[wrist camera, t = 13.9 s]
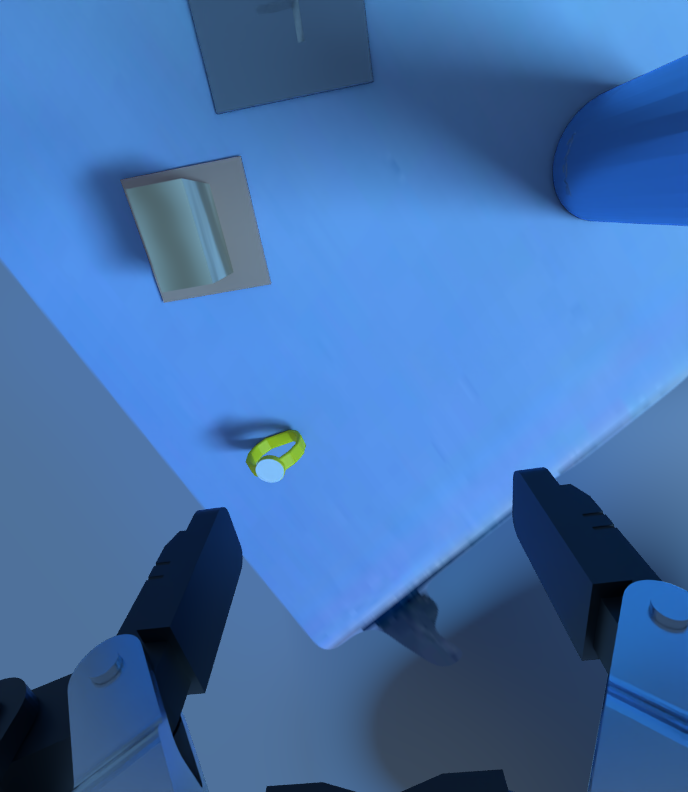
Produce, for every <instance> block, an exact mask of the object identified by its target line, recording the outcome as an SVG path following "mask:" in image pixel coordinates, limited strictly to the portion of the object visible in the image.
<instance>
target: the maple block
mask: <svg viewBox="0 0 688 792" xmlns="http://www.w3.org/2000/svg"><path fill="white" fill-rule="evenodd" d="M126 192H127V195H128V198H129V201H130V204H131V206H132V209H133V212H134V215H135V218H136V220H137V223H138V226H139V229H140V232H141V235H142V237H143V240H144V243H145V246H146V249H147V251H148V254H149V257H150V260H151V263H152V266H153V268H154V271H155V274H156V277H157V280H158V282H159V285H160V288H161V291H162V293H163V292H168V291H174V290H180V289H185V288H191V287H197V286H202V285H208V284H213V283H215V282H217V281H219V280H221V279H222V278H224V277H226V276H228V275H230V274H232V273H233V268H232V264H231V261H230V257H229V254H228V250H227V246H226V243H225V239H224V235H223V232H222V228H221V224H220V221H219V217H218V213H217V210H216V206H215V203H214V199H213V195H212V192H211V188H210V184H208V183H202V182H197V181H192V180H187V179H182V178H181V179H176V180H171V181H166V182H161V183H156V184H151V185H146V186H141V187H136V188H131V189H126Z"/></svg>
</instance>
